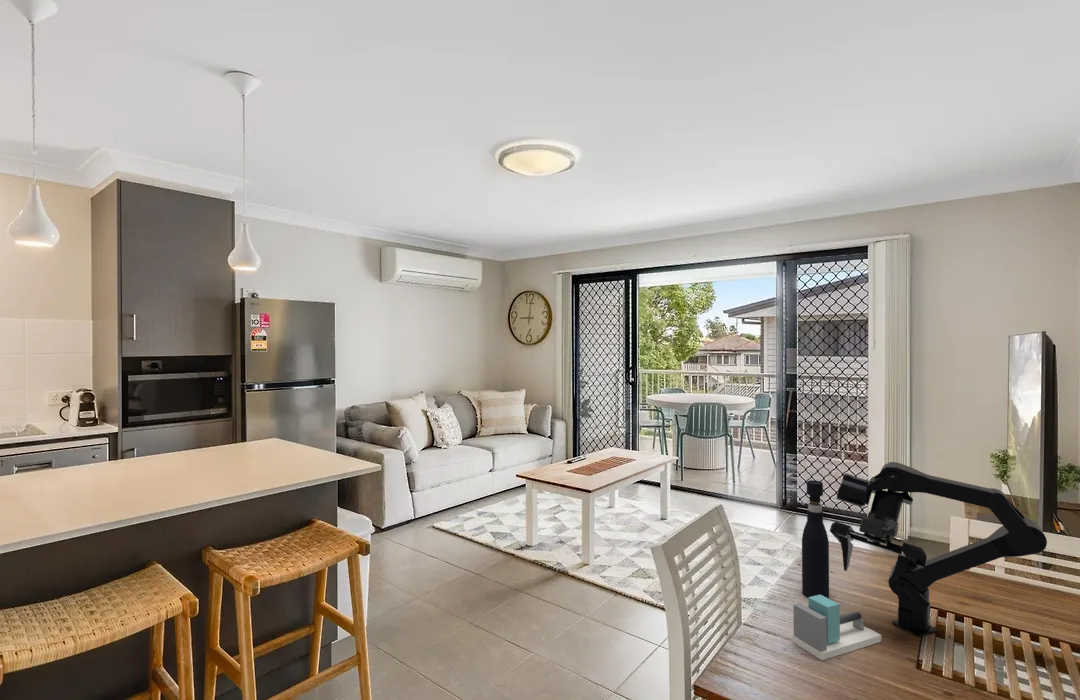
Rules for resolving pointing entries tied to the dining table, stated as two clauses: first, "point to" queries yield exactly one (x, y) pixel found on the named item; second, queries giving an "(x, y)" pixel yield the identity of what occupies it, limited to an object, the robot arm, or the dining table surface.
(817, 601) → the teal block on rod
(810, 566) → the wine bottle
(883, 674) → the dining table surface
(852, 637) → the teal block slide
